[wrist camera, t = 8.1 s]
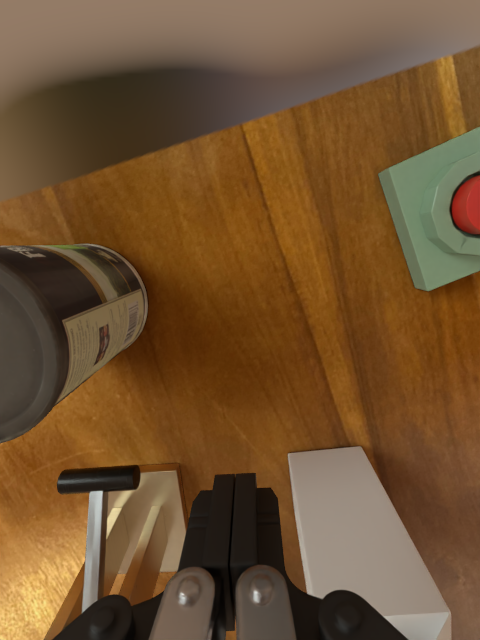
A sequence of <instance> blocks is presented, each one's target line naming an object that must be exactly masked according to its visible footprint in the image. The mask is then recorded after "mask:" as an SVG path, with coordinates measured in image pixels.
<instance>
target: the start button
mask: <svg viewBox="0 0 480 640" xmlns="http://www.w3.org/2000/svg"><path fill="white" fill-rule="evenodd" d="M451 211H452V217H453V220H454V222H455V224H456V225H457V226H458V227H459V228H460V229H461V230H463V231H464V232H466V233H469V234H480V175H479V176H476V177H473V178H471V179H469V180H468V181H466V182H465V183H464V184H463V185H462V186H461V187H460V188H459V189H458V191H457V192H456V194H455V196H454V198H453V201H452V208H451Z"/></svg>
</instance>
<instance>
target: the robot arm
mask: <svg viewBox="0 0 480 640" xmlns="http://www.w3.org/2000/svg"><path fill="white" fill-rule="evenodd" d="M235 616H236V632H237V640H408V639H407V638H406V637H405V636H404V635H403V634H402V633H401V632H400V631H398V630H397V629H396V628H395V627H394V626H393V625H392V624H391V623H390V622H389V621H388V620H386V619H385V618H384V617H383V616H382V615H381V614H380V613H379V612H378V611H377V610H376V609H375V608H373V607H372V606H371V605H370V604H369V603H368V602H367V601H366V600H365V599H363V598H362V597H361V596H359V595H358V594H356V593H354V592H351V591H348V590H335V591H332V592H330V593H328V594H327V595H326V596H325V597H324V598H323V599H321V598H318V597H315V596H312V595H309V594H307V593H304V592H303V591H301V590H299V589H298V588H297V587H296V586H295V585H294V584H293V583H292V582H291V581H290V579H289V578H288V576H287V574H286V571H285V566H284V556H283V547H282V537H281V527H280V517H279V507H278V498H277V497H276V495H275V493H274V492H273V490H272V489H271V488H257V483H256V473H241V474H236V477H235V474H221V475H215V478H214V485H213V490H206V491H200V493H199V494H198V496H197V497H196V498H195V500H194V501H193V504H192V508H191V513H190V517H189V522H188V528H187V531H186V535H185V540H184V544H183V549H182V553H181V557H180V562H179V566H178V570H177V573H176V574H175V575H174V576H173V577H172V578H171V579H170V580H169V582H168V583H167V585H166V587H165V590H164V591H163V592H162V593H161V594H159V595H157V596H156V597H154V598H151V599H149V600H146V601H144V602H141V603H138V604H136V605H133V606H131V604H130V602H129V600H128V599H127V598H125V597H124V596H121V595H108V596H105V597H103V598H101V599H99V600H97V601H96V602H94V603H93V604H92V605H90V606H89V607H88V608H87V609H86V610H85V611H84V612H83V613H81V614H80V615H79V616H78V617H77V618H76V619H75V620H74V621H72V622H71V623H70V624H69V625H68V626H67V627H66V628H64V629H63V630H62V631H61V632H60V633H59V634H58V635H57V636H55V637H54V638H53V639H52V640H225V637H226V631H235Z"/></svg>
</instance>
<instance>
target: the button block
mask: <svg viewBox="0 0 480 640" xmlns="http://www.w3.org/2000/svg"><path fill="white" fill-rule="evenodd" d="M479 175H480V127H478V128H476V129H474V130H471V131H469V132H467V133H465V134H463V135H460V136H458V137H456V138H454V139H451V140H449V141H447V142H445V143H443V144H440V145H438V146H436V147H434V148H432V149H429V150H427V151H425V152H423V153H420V154H418V155H416V156H414V157H412V158H409V159H407V160H405V161H403V162H400V163H398V164H396V165H394V166H392V167H389V168H388V169H386V170H384V171H382V172H380V173H379V174H378V176H379V179H380V182H381V185H382V188H383V191H384V194H385V197H386V200H387V203H388V206H389V210H390V213H391V216H392V219H393V222H394V225H395V228H396V231H397V234H398V237H399V240H400V243H401V246H402V249H403V252H404V256H405V259H406V262H407V265H408V268H409V271H410V274H411V277H412V280H413V283H414V286H415V288H417V289H421V290H425V291H430V290H433V289H435V288H438V287H440V286H443V285H445V284H448V283H450V282H453V281H455V280H458V279H460V278H463V277H465V276H468V275H470V274H473V273H475V272H478V271H480V234H469V233H466V232H464V231H463V230H461V229H460V228H459V227H458V226H457V225H456V224H455V222H454V220H453V217H452V211H451V208H452V201H453V198H454V196H455V194H456V192H457V191H458V189H459V188H460V187H461V186H462V185H463V184H464V183H465V182H466V181H468V180H469V179H471V178H473V177H476V176H479Z"/></svg>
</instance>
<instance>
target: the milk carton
mask: <svg viewBox="0 0 480 640" xmlns="http://www.w3.org/2000/svg"><path fill="white" fill-rule="evenodd" d="M288 462H289V470H290V479H291V487H292V496H293V504H294V512H295V518H296V525H297V531H298V537H299V544H300V550H301V556H302V563H303V569H304V575H305V581H306V588H307V594H309V595H312V596H315V597H318V598H321V599H323V598H324V597H325V596H326V595H327V594H328V593H330V592H332V591H335V590H348V591H351V592H354V593H356V594H358V595H359V596H361V597H362V598H363V599H365V600H366V601H367V602H368V603H369V604H370V605H371V606H372V607H373V608H375V609H376V610H377V611H378V612H379V613H380V614H381V615H382V616H383V617H384V618H385V619H386V620H388V621H389V622H390V623H391V624H392V625H393V626H394V627H395V628H396V629H397V630H398V631H400V632H401V633H402V634H403V635H404V636H405V637H406V638H407V639H408V640H451V612H450V610H449V608H448V606H447V604H446V603H445V601H444V599H443V597H442V595H441V593H440V591H439V590H438V588H437V586H436V584H435V582H434V580H433V578H432V577H431V575H430V573H429V571H428V569H427V567H426V565H425V564H424V562H423V560H422V558H421V556H420V554H419V553H418V551H417V549H416V547H415V545H414V543H413V541H412V540H411V538H410V536H409V534H408V532H407V530H406V528H405V527H404V525H403V523H402V521H401V519H400V517H399V515H398V514H397V512H396V510H395V508H394V506H393V504H392V502H391V501H390V499H389V497H388V495H387V493H386V491H385V489H384V488H383V486H382V484H381V482H380V480H379V478H378V476H377V475H376V473H375V471H374V469H373V467H372V465H371V464H370V462H369V460H368V458H367V456H366V454H365V452H364V451H363V449H362V447H361V446H358V447H347V448H337V449H327V450H316V451H306V452H296V453H288Z"/></svg>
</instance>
